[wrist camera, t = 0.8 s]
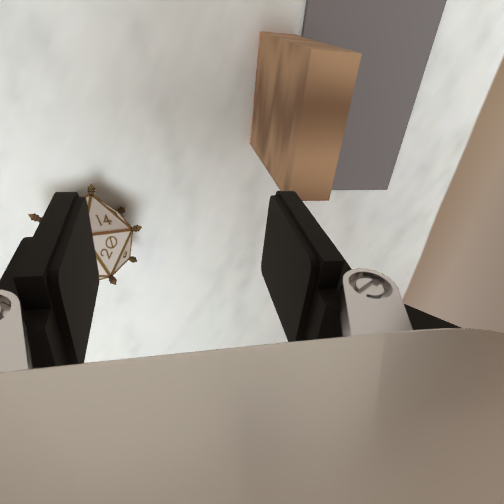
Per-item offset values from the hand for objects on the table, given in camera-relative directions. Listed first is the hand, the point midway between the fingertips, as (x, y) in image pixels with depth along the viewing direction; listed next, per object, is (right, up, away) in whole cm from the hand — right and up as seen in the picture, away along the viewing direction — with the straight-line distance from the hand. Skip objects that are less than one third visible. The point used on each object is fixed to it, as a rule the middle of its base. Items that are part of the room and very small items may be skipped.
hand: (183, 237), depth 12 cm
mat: (+12, +14, +23) cm, 29 cm away
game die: (-13, +3, +24) cm, 27 cm away
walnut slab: (+4, +13, +21) cm, 25 cm away
